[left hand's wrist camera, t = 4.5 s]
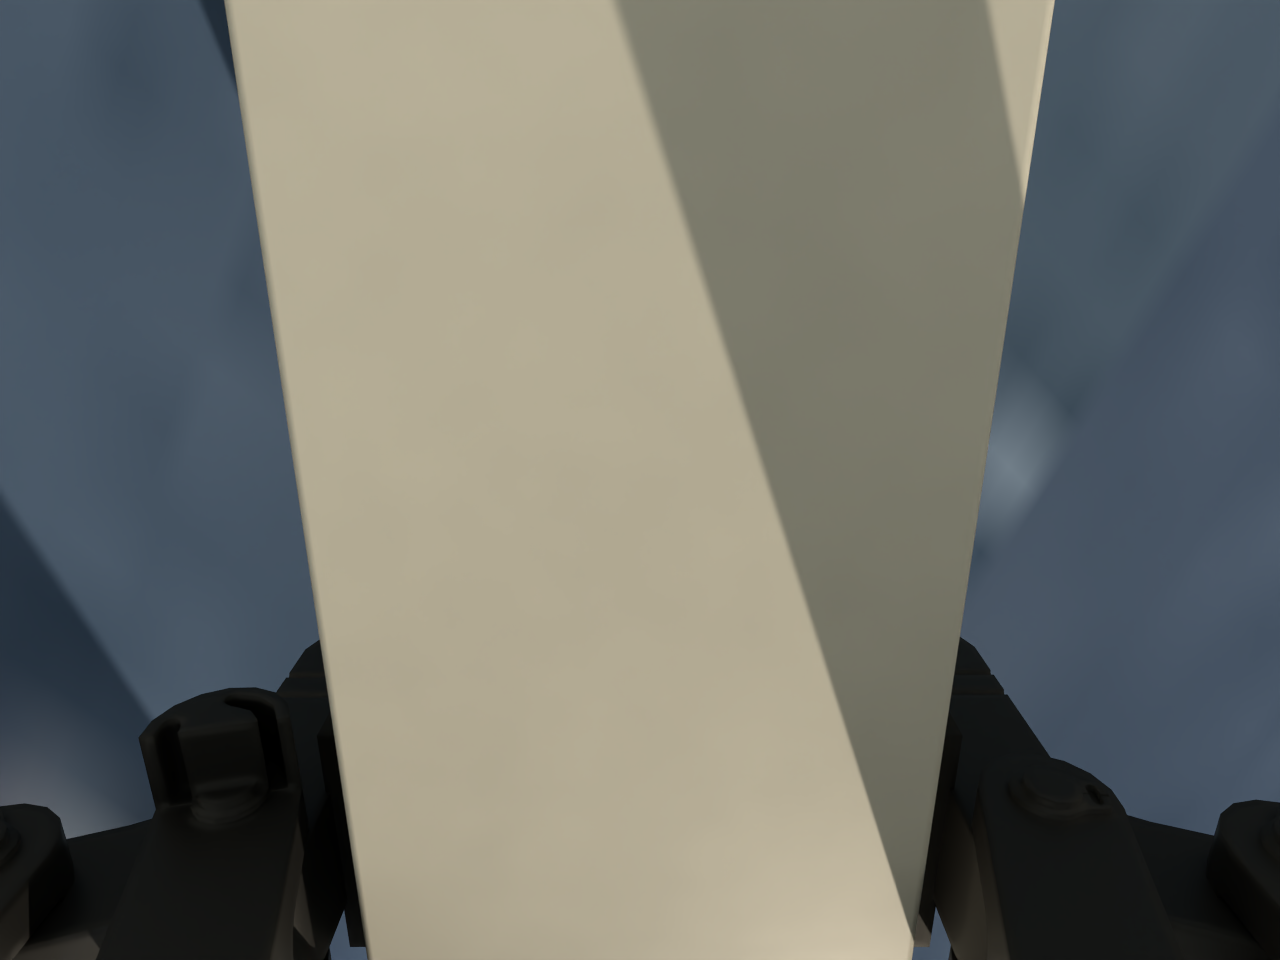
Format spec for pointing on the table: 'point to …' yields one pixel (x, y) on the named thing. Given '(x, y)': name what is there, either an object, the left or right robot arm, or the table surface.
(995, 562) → the table surface
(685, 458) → the post
